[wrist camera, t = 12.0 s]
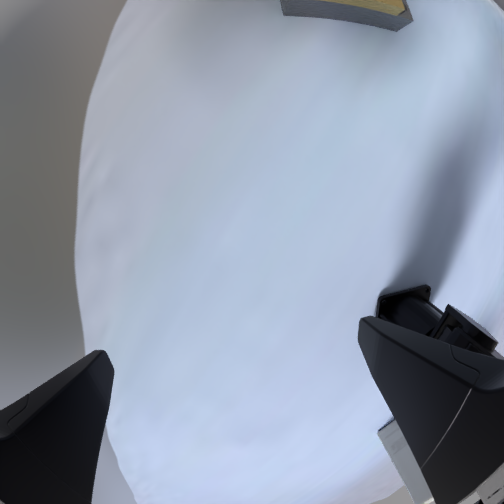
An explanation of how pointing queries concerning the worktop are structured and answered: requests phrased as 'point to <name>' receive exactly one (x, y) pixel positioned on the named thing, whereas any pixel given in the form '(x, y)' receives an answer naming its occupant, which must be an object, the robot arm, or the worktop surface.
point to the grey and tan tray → (353, 11)
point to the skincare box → (405, 463)
